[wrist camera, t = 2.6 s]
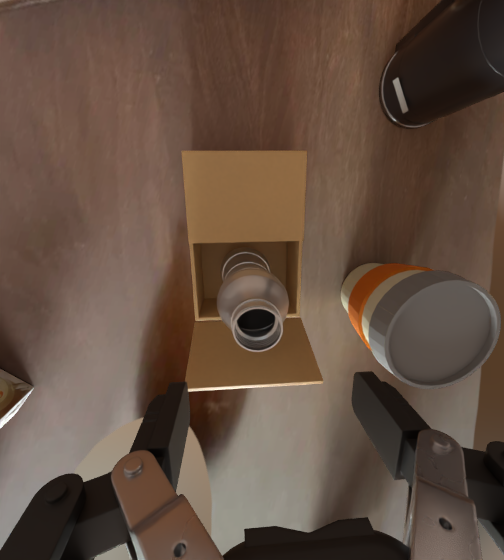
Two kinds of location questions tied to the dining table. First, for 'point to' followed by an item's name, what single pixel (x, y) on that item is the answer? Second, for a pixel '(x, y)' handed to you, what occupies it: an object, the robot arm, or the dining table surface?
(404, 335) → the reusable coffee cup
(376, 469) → the dining table surface
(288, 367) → the flap
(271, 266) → the carton
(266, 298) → the silver metal bottle
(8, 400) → the coffee box
